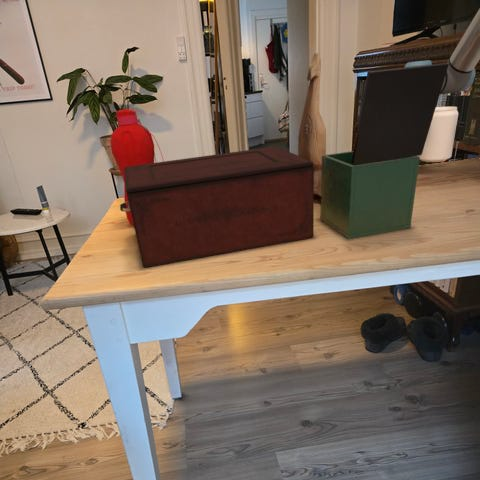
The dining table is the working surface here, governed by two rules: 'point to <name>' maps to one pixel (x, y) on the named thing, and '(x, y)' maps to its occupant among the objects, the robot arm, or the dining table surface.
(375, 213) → the green cube bin
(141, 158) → the water bottle
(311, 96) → the bird sculpture
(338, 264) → the dining table surface
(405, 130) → the black flat panel
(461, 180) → the dining table surface
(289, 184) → the storage box
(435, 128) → the beverage can
